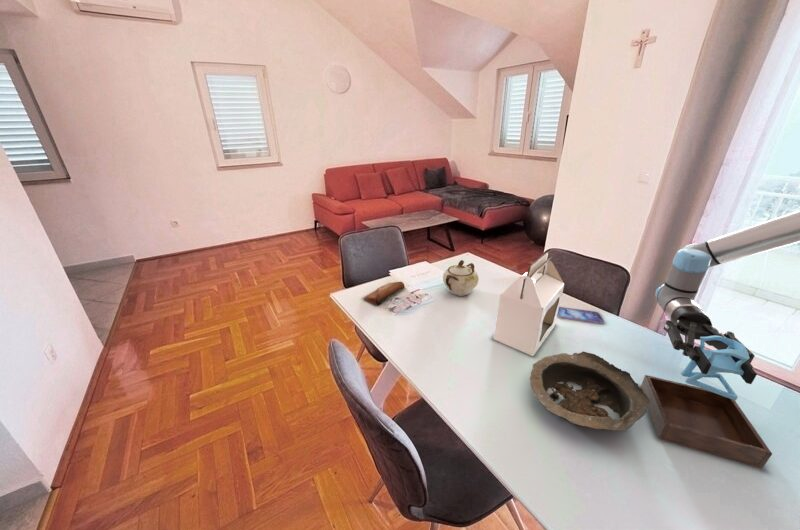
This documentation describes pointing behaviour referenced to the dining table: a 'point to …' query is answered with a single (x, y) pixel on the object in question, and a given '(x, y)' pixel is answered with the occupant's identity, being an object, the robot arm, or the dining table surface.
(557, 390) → the stone bowl
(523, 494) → the dining table surface
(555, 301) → the gable box
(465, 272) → the sugar bowl
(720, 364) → the chair
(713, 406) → the wooden tray
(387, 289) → the sunglasses case
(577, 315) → the smartphone
